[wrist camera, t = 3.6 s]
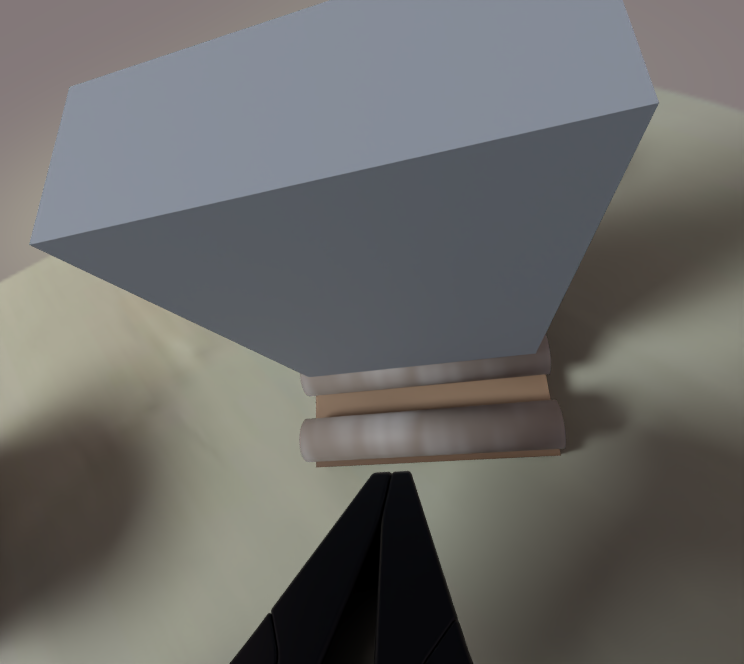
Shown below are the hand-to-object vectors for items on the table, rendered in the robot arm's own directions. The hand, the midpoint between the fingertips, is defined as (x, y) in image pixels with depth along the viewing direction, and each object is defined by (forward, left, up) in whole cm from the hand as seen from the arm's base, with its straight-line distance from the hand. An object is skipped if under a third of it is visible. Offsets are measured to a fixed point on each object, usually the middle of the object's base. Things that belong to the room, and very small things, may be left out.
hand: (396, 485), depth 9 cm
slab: (+1, +5, -4) cm, 7 cm away
